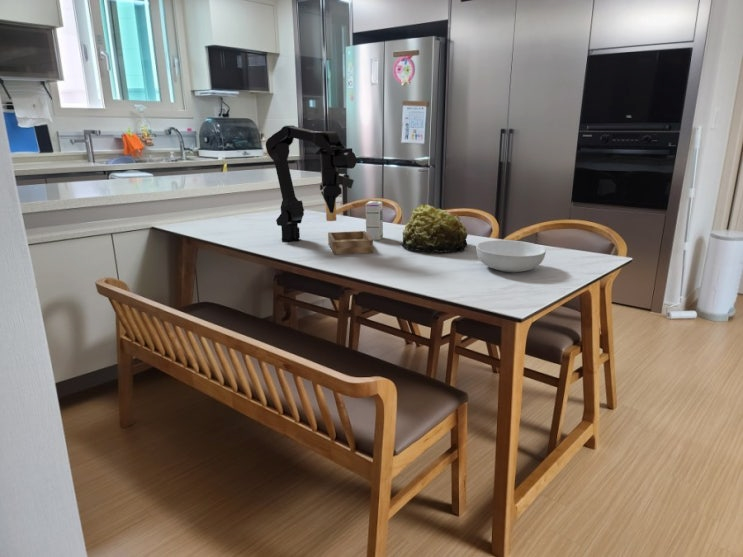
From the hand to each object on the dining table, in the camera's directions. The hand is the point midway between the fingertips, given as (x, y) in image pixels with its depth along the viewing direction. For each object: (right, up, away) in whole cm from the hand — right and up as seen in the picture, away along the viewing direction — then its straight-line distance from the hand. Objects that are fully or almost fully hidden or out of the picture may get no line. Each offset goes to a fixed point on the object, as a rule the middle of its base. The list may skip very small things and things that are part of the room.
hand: (331, 212), depth 186 cm
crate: (+7, -13, +1) cm, 15 cm away
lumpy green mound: (+38, -13, +3) cm, 40 cm away
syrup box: (+16, -8, +18) cm, 25 cm away
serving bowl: (+58, -21, -26) cm, 67 cm away
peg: (0, -3, +1) cm, 3 cm away
